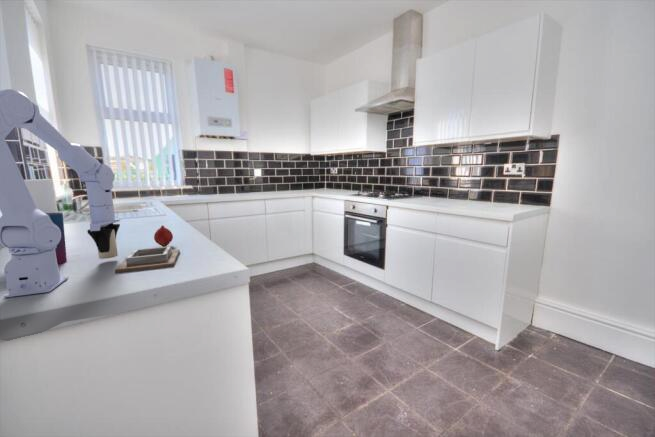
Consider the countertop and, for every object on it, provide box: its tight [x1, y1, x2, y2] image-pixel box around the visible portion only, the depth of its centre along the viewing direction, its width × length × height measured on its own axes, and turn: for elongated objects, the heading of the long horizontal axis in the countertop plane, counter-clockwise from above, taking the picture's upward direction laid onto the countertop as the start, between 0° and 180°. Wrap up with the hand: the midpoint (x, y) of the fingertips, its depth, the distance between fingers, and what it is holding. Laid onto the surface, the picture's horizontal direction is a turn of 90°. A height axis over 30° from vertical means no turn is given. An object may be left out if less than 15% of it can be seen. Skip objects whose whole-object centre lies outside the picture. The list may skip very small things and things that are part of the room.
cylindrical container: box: [24, 178, 59, 213], centre depth 92 cm, size 7×7×25 cm
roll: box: [97, 229, 119, 260], centre depth 87 cm, size 5×5×8 cm
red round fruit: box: [153, 225, 174, 247], centre depth 104 cm, size 6×6×8 cm
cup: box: [45, 212, 68, 265], centre depth 86 cm, size 7×7×15 cm
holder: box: [114, 245, 181, 274], centre depth 87 cm, size 16×14×3 cm
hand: (107, 250), depth 87 cm, fingers closed on roll, 5 cm apart
